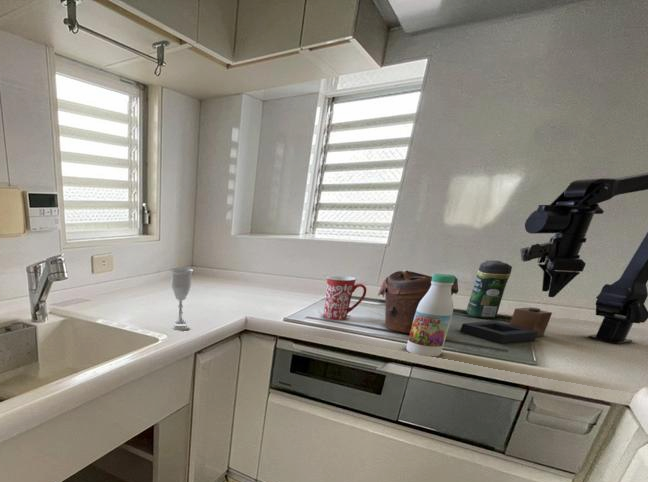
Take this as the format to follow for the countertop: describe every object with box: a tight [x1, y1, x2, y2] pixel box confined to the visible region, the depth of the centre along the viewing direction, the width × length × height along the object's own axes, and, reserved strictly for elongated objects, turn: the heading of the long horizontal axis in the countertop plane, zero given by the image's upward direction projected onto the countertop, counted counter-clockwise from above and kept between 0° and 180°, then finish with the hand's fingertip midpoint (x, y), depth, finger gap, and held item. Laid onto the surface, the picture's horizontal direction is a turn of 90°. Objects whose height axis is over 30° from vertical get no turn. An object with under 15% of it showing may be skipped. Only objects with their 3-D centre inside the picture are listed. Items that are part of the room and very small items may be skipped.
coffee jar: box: [466, 260, 513, 320], centre depth 136 cm, size 10×8×19 cm
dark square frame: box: [459, 320, 538, 344], centre depth 118 cm, size 12×12×2 cm
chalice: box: [170, 267, 194, 331], centre depth 124 cm, size 7×7×18 cm
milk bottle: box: [406, 273, 456, 358], centre depth 101 cm, size 8×8×20 cm
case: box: [377, 269, 459, 335], centre depth 122 cm, size 18×20×18 cm
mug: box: [323, 275, 367, 321], centre depth 135 cm, size 13×9×14 cm
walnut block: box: [509, 306, 553, 338], centre depth 119 cm, size 5×6×8 cm
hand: (547, 294), depth 109 cm, fingers open, 9 cm apart
